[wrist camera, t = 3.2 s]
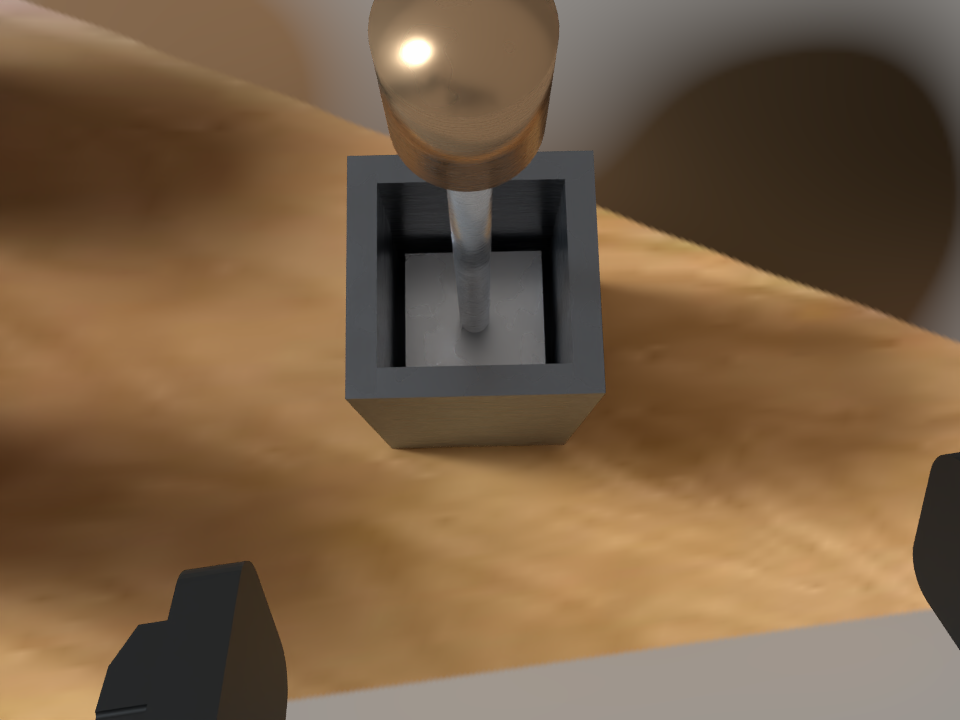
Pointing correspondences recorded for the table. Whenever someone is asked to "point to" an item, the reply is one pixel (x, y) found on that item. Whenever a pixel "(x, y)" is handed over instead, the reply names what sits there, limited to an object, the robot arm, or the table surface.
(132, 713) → the robot arm
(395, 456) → the table surface
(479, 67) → the plunger
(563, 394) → the press tower
